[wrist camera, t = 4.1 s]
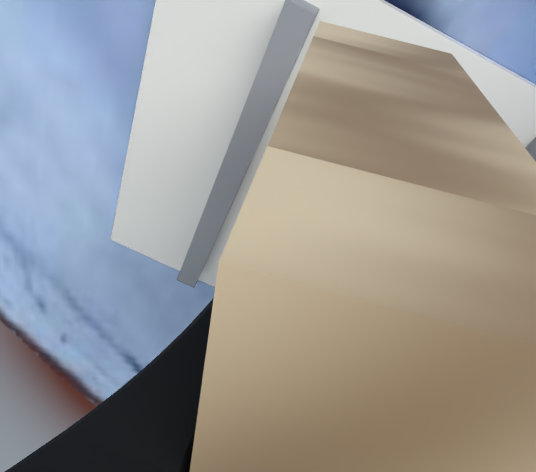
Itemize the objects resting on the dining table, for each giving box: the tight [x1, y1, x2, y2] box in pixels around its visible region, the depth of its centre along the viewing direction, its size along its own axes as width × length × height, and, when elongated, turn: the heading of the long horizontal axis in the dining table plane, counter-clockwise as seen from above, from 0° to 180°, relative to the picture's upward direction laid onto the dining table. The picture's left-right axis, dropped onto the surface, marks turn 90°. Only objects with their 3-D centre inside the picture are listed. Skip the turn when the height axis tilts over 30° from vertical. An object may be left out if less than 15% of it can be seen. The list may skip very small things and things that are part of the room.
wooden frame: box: [190, 21, 536, 472], centre depth 9 cm, size 3×11×8 cm, turn 169°
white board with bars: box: [111, 0, 536, 288], centre depth 17 cm, size 20×16×3 cm
